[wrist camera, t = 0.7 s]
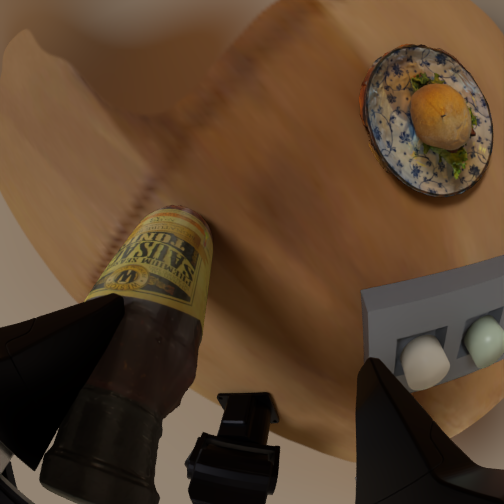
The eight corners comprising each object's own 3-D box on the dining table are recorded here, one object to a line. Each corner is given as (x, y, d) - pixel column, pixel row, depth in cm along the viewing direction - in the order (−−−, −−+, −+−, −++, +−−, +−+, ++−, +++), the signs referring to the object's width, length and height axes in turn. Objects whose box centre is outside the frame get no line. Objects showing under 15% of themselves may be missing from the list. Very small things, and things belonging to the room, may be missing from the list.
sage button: (489, 341, 18) (501, 360, 16) (460, 352, 19) (471, 373, 17) (498, 310, 17) (513, 328, 14) (468, 321, 18) (481, 342, 15)
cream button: (435, 361, 20) (444, 383, 17) (398, 371, 21) (405, 394, 18) (441, 329, 19) (453, 352, 16) (401, 340, 20) (410, 365, 17)
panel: (524, 327, 20) (535, 341, 17) (363, 380, 26) (367, 402, 23) (544, 241, 16) (560, 252, 13) (360, 290, 22) (367, 311, 19)
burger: (470, 207, 18) (522, 238, 11) (348, 175, 19) (374, 195, 12) (484, 79, 13) (538, 71, 6) (362, 30, 14) (388, -13, 7)
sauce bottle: (213, 200, 21) (199, 521, 3) (214, 270, 24) (219, 531, 6) (131, 202, 20) (-25, 446, 2) (141, 271, 23) (70, 505, 5)
